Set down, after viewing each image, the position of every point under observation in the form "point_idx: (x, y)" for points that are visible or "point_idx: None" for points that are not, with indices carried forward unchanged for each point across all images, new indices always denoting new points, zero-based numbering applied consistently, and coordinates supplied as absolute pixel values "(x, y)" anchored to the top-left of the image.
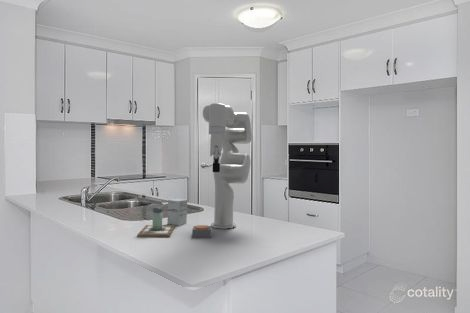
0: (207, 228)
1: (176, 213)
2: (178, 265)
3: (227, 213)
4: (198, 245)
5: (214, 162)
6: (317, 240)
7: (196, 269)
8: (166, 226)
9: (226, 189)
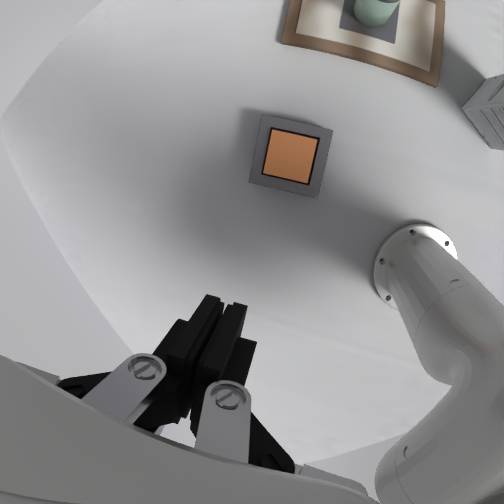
0: (274, 174)
1: (487, 97)
2: (47, 90)
3: (396, 297)
4: (168, 128)
5: (130, 369)
6: None
7: (29, 125)
8: (417, 51)
9: (428, 355)
